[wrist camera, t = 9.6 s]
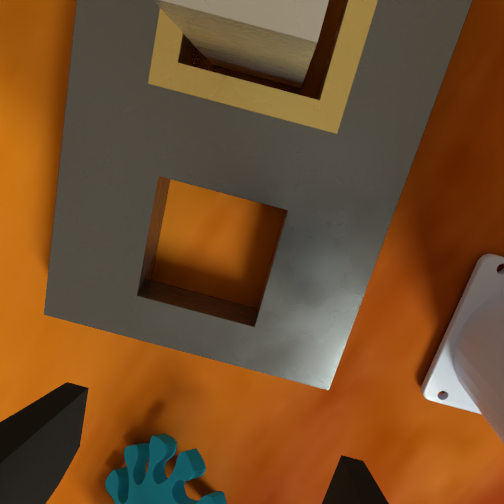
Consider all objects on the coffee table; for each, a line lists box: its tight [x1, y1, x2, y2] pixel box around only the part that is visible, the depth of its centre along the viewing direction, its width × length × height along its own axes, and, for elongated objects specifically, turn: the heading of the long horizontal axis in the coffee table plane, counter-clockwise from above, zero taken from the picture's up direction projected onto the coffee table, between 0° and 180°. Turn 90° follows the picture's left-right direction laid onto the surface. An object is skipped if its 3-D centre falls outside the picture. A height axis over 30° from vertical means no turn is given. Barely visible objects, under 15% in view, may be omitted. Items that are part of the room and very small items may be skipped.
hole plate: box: [44, 0, 472, 390], centre depth 16 cm, size 14×20×2 cm
